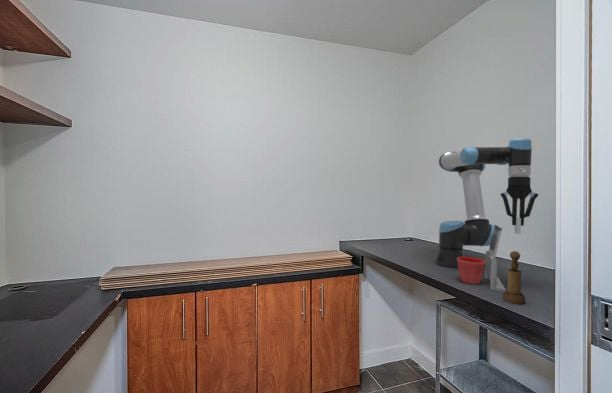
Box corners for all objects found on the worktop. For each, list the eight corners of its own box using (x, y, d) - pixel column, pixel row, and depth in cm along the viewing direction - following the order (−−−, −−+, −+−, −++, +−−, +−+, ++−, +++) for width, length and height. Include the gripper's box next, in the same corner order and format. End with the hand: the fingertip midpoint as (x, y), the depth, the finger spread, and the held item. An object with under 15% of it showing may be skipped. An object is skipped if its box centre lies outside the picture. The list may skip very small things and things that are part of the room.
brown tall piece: (505, 302, 106) (506, 252, 105) (500, 296, 112) (501, 249, 111) (527, 305, 103) (529, 254, 103) (521, 298, 109) (522, 250, 109)
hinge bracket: (485, 277, 136) (485, 250, 136) (497, 279, 134) (498, 251, 133) (490, 290, 119) (491, 259, 118) (505, 292, 116) (506, 260, 116)
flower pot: (489, 286, 124) (489, 263, 123) (460, 284, 126) (461, 261, 126) (479, 278, 134) (480, 257, 134) (453, 277, 136) (454, 256, 136)
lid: (494, 224, 131) (499, 225, 131) (486, 255, 133) (491, 256, 132) (499, 227, 120) (504, 229, 119) (491, 261, 121) (496, 262, 120)
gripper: (502, 176, 121) (500, 233, 122) (541, 175, 116) (539, 236, 116) (498, 177, 128) (497, 231, 129) (536, 176, 122) (534, 233, 123)
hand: (517, 233), depth 122 cm, fingers closed
